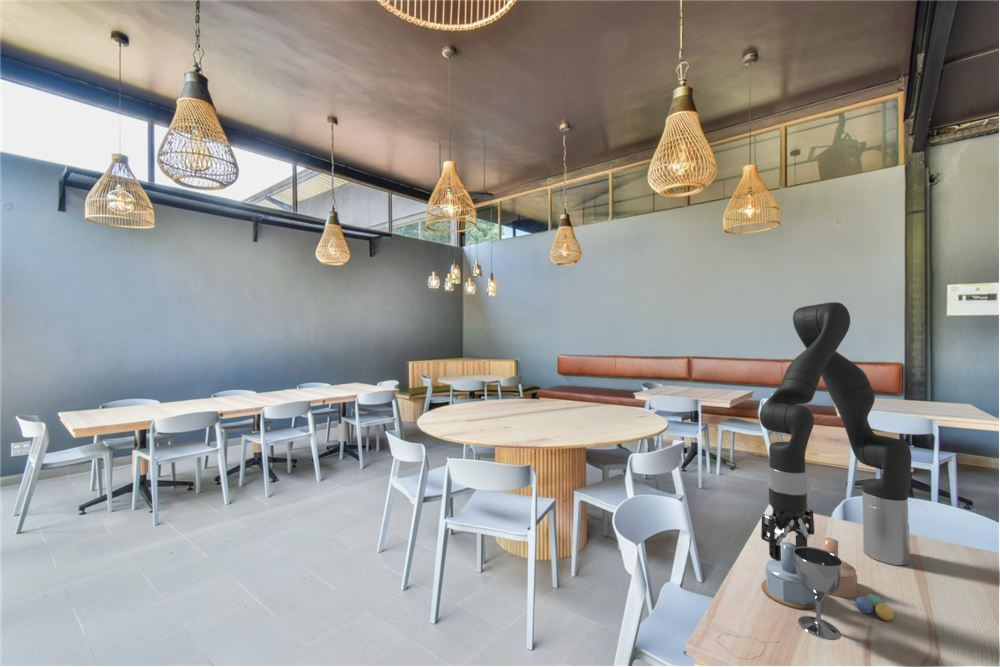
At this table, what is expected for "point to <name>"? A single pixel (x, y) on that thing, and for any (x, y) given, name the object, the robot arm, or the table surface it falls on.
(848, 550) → the table surface
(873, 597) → the marble seagreen
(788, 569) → the slate cloche
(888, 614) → the marble amber
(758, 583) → the table surface
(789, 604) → the disc
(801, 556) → the wine glass
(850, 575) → the terracotta cloche
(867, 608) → the marble inkblue
